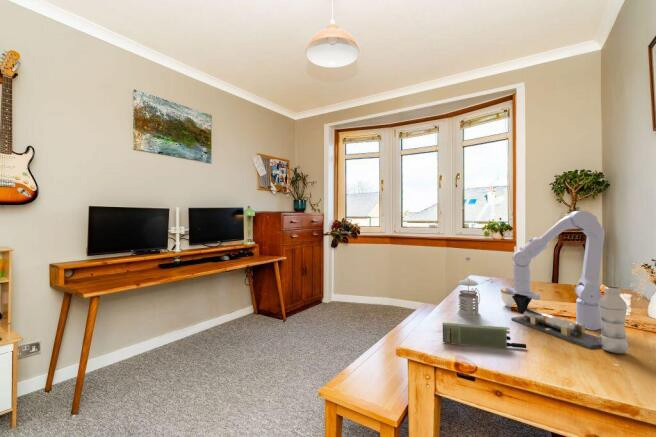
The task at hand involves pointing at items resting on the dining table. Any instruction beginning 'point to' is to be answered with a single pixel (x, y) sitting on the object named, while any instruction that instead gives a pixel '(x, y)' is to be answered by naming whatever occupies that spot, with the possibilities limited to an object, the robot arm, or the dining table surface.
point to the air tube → (551, 320)
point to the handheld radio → (478, 335)
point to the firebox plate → (557, 333)
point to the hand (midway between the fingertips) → (522, 313)
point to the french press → (468, 299)
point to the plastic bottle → (613, 321)
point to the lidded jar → (507, 297)
